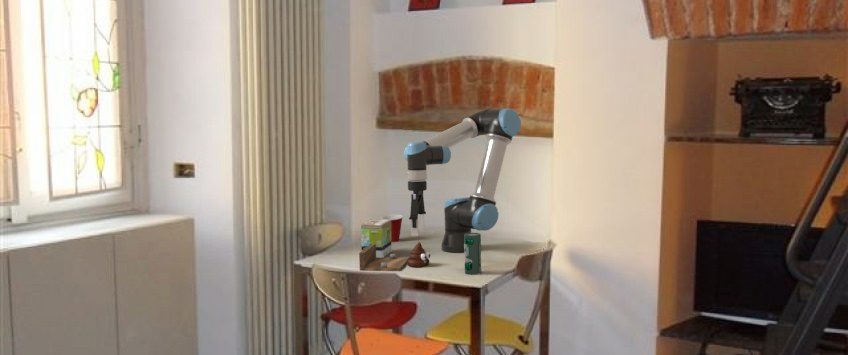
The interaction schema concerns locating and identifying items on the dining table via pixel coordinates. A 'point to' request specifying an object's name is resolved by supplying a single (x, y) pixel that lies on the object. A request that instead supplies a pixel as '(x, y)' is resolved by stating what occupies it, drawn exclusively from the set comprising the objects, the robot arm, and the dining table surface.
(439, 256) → the dining table surface
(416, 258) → the poop emoji
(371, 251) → the ledge
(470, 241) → the can
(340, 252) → the dining table surface
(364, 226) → the tea box
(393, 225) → the plastic cup
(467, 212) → the robot arm
